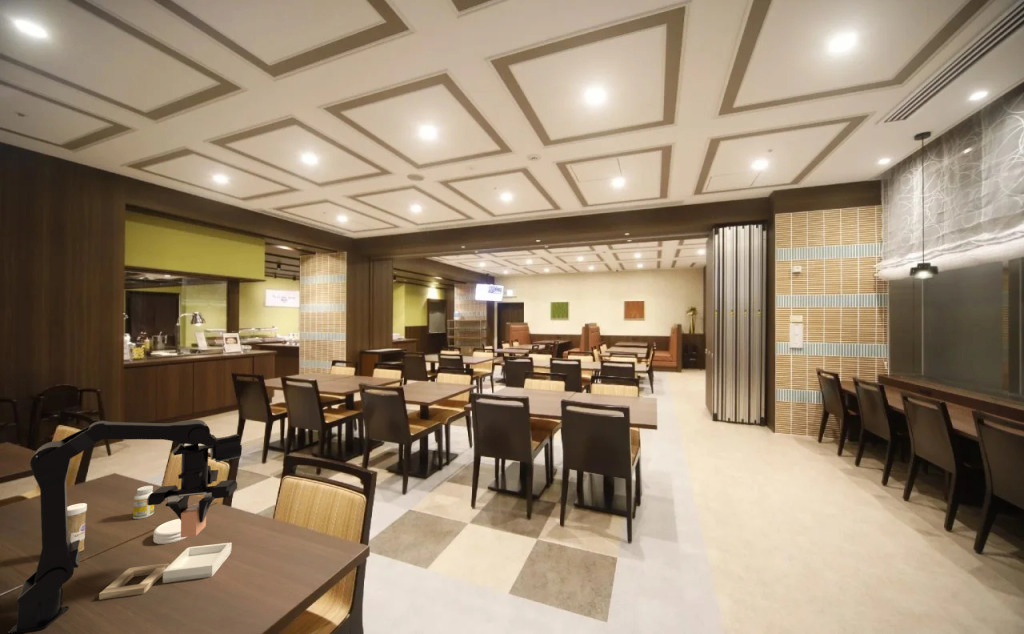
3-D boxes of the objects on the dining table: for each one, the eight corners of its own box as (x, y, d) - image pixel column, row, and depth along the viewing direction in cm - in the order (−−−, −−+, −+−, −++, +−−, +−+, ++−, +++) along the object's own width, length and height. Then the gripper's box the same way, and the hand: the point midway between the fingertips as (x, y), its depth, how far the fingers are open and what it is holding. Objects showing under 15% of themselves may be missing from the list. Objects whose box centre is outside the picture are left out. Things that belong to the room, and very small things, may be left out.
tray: (211, 576, 100) (212, 565, 100) (162, 583, 97) (163, 571, 97) (231, 552, 110) (231, 542, 110) (187, 557, 107) (187, 547, 108)
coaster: (201, 532, 121) (202, 521, 121) (163, 548, 112) (163, 536, 112) (185, 525, 125) (185, 514, 125) (146, 540, 116) (147, 528, 116)
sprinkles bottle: (80, 554, 108) (83, 507, 109) (57, 559, 106) (60, 511, 106) (87, 546, 112) (89, 501, 113) (64, 550, 110) (67, 504, 110)
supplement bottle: (138, 520, 127) (139, 492, 127) (129, 517, 129) (130, 489, 129) (157, 513, 132) (159, 486, 132) (148, 510, 134) (149, 483, 134)
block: (196, 535, 101) (196, 510, 101) (180, 537, 100) (181, 511, 100) (205, 526, 106) (206, 501, 106) (191, 527, 105) (191, 503, 105)
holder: (143, 593, 93) (144, 587, 93) (99, 599, 91) (99, 593, 91) (169, 568, 103) (169, 563, 103) (129, 573, 100) (129, 567, 100)
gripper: (245, 453, 114) (244, 504, 114) (172, 459, 109) (171, 512, 109) (228, 467, 103) (227, 523, 103) (146, 474, 98) (145, 533, 98)
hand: (193, 522), depth 103 cm, fingers closed on block, 3 cm apart
